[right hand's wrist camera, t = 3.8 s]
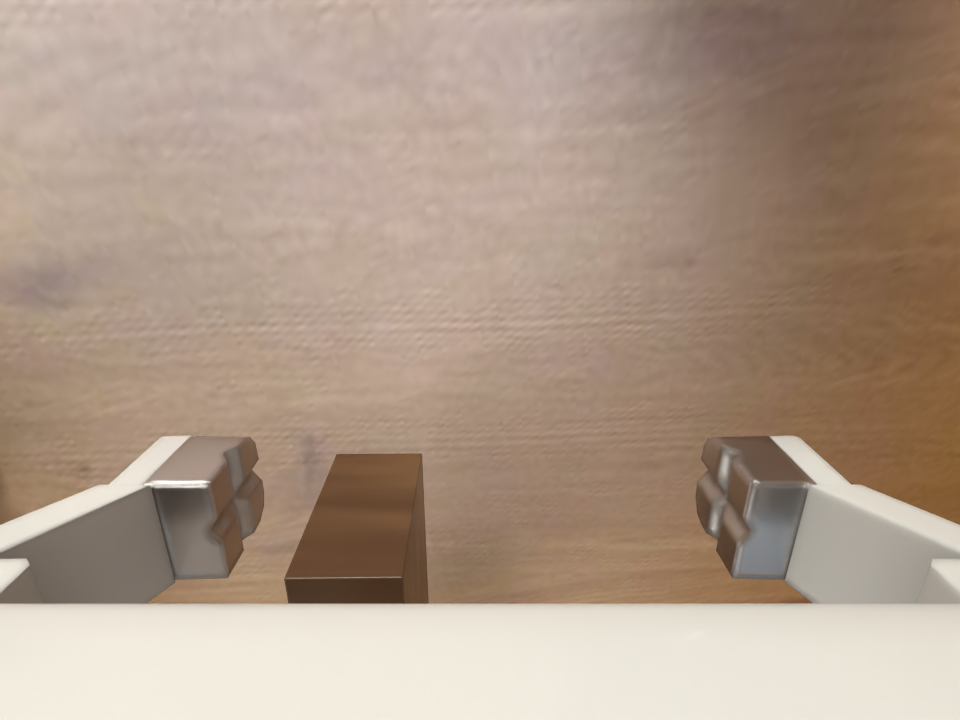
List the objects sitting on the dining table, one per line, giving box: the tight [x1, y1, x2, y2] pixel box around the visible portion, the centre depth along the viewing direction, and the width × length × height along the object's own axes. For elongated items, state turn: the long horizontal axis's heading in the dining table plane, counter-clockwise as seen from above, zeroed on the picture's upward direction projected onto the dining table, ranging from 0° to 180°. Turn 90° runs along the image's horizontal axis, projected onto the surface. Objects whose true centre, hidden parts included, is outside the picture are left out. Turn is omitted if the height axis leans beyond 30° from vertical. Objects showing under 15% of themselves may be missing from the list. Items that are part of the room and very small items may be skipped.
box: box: [284, 454, 429, 604], centre depth 37 cm, size 20×6×12 cm, turn 0°
